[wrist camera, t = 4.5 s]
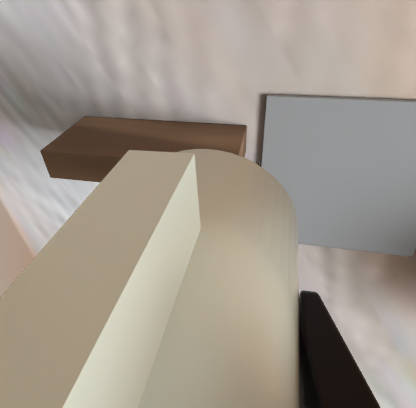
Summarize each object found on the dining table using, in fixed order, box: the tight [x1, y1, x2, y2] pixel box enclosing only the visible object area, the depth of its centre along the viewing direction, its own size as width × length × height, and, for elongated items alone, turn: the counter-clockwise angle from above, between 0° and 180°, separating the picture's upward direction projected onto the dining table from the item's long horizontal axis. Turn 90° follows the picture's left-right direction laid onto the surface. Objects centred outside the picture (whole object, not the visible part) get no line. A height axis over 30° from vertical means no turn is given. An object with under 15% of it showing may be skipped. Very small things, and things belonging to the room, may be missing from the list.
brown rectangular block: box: [41, 116, 247, 182], centre depth 15 cm, size 11×10×4 cm
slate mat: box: [261, 94, 416, 257], centre depth 19 cm, size 10×10×1 cm
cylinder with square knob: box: [0, 149, 301, 408], centre depth 7 cm, size 7×6×9 cm
